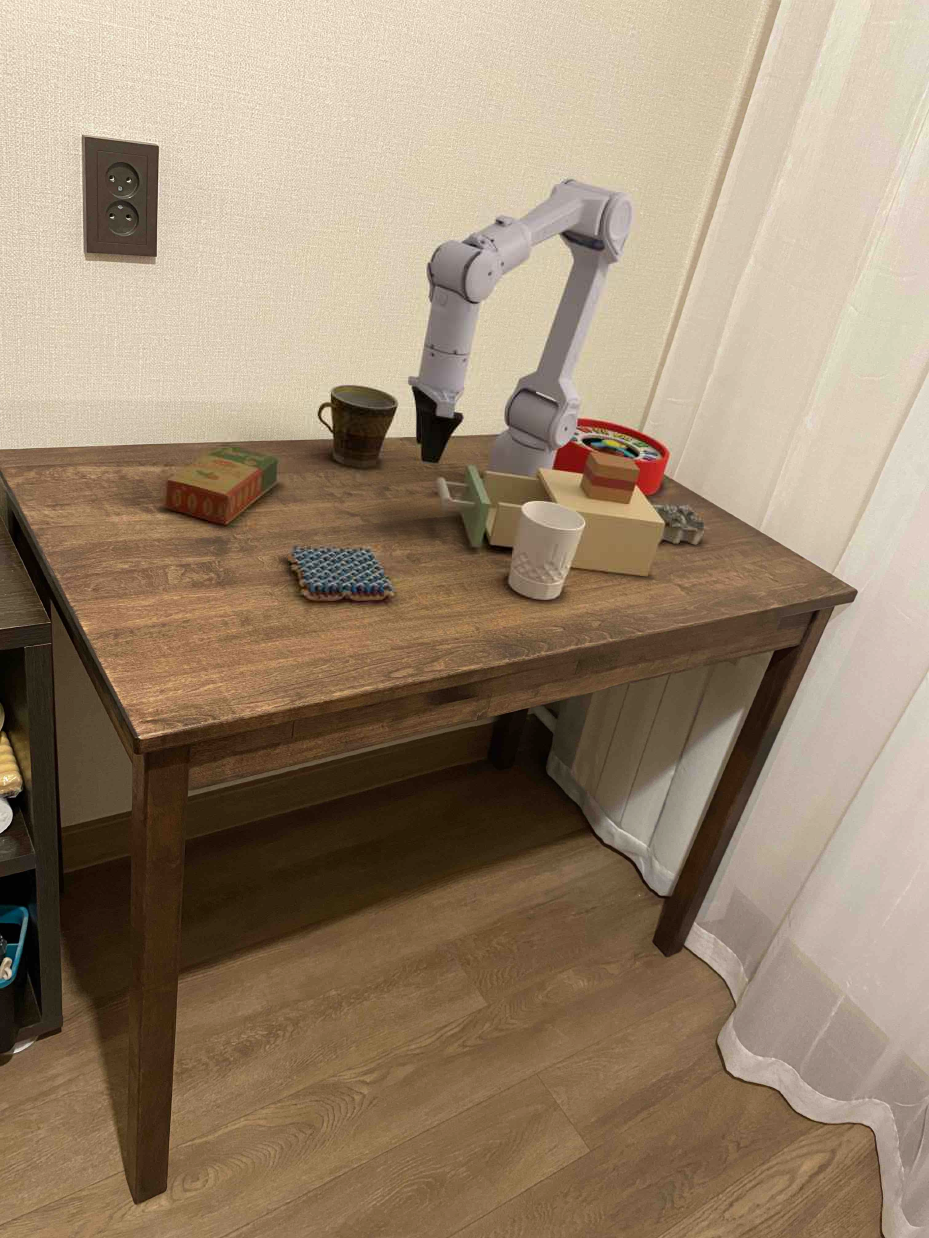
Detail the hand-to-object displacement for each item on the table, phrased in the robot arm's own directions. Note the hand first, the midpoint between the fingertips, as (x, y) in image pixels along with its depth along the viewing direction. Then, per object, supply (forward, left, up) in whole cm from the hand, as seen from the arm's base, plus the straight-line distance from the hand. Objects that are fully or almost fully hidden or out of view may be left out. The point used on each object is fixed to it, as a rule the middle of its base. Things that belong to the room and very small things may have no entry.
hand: (426, 452), depth 118 cm
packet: (+13, +22, -2) cm, 25 cm away
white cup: (+19, +5, -11) cm, 23 cm away
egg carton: (+12, +39, -11) cm, 42 cm away
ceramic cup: (-22, +3, -11) cm, 24 cm away
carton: (-14, -21, -11) cm, 27 cm away
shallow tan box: (+12, +21, -10) cm, 27 cm away
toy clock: (-10, +48, -11) cm, 50 cm away
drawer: (+6, +10, -9) cm, 15 cm away
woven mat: (+10, -18, -11) cm, 23 cm away
